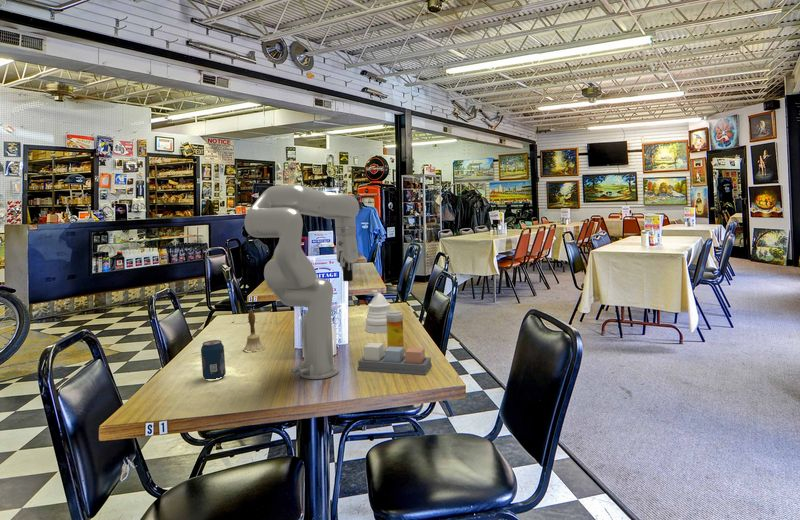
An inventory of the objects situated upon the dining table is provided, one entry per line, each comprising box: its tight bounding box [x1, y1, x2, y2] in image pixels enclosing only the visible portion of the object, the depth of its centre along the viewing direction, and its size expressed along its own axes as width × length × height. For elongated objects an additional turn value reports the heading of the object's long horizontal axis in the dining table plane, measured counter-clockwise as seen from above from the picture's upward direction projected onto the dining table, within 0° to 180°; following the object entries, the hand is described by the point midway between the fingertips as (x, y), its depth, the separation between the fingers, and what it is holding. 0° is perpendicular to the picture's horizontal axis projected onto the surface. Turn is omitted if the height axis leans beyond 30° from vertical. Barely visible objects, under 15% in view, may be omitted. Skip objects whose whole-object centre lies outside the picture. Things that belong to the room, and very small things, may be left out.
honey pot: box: [365, 289, 392, 334], centre depth 208 cm, size 13×13×18 cm
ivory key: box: [363, 342, 385, 361], centre depth 157 cm, size 5×5×4 cm
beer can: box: [386, 309, 405, 348], centre depth 175 cm, size 6×6×15 cm
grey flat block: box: [357, 355, 433, 376], centre depth 155 cm, size 23×9×3 cm, turn 73°
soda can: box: [200, 339, 227, 380], centre depth 151 cm, size 7×7×12 cm
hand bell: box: [243, 309, 265, 351], centre depth 183 cm, size 8×8×16 cm
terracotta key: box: [404, 346, 426, 364], centre depth 153 cm, size 5×5×4 cm
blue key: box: [384, 346, 405, 363], centre depth 155 cm, size 5×5×4 cm
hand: (348, 280), depth 174 cm, fingers closed
